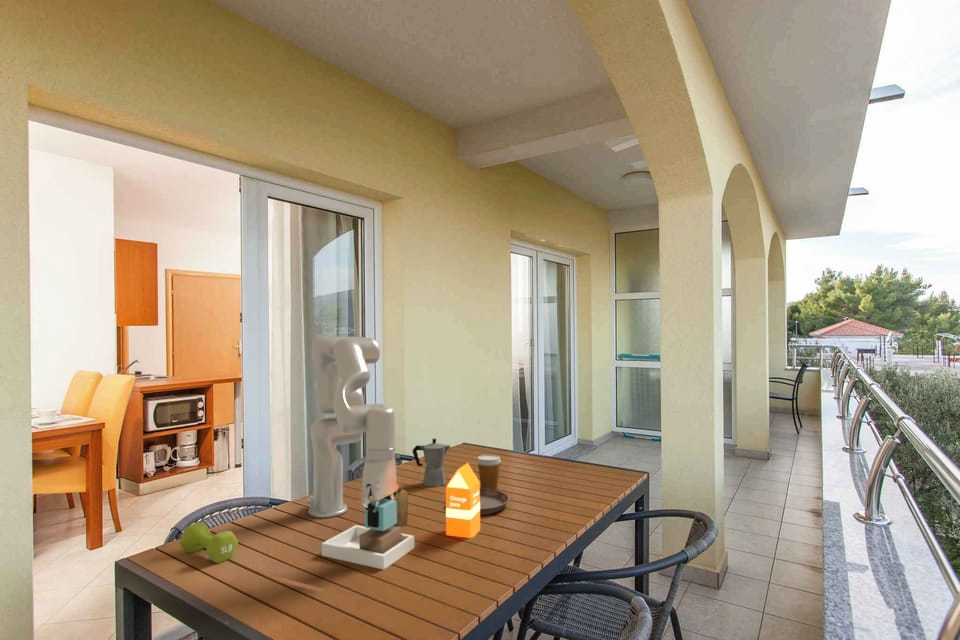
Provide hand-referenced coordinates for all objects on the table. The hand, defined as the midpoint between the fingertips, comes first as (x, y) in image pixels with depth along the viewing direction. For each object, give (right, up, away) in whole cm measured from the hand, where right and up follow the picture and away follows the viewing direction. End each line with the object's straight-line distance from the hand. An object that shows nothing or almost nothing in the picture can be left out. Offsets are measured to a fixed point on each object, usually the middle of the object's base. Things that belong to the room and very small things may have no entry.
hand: (380, 521), depth 131 cm
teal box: (0, -1, 0) cm, 1 cm away
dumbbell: (-47, -10, +2) cm, 49 cm away
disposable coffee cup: (+30, -12, +59) cm, 68 cm away
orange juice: (+22, -10, +15) cm, 28 cm away
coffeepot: (+7, -12, +67) cm, 68 cm away
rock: (0, -11, +24) cm, 26 cm away
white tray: (-4, -9, +1) cm, 10 cm away
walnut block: (0, -8, 0) cm, 9 cm away
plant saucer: (+26, -11, +39) cm, 49 cm away
